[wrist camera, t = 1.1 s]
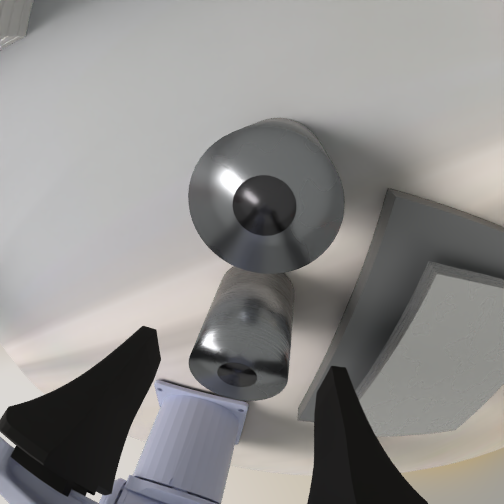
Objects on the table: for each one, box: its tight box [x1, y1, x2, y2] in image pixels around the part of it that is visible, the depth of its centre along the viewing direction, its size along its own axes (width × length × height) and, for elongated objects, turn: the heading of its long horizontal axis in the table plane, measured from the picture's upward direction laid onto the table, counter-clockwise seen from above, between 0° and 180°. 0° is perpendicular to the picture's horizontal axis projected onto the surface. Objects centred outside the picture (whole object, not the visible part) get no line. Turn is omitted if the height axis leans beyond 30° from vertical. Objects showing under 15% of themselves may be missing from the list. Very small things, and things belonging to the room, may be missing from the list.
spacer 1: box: [188, 118, 344, 274], centre depth 9 cm, size 4×4×6 cm
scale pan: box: [355, 261, 504, 437], centre depth 13 cm, size 14×12×2 cm
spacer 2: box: [189, 266, 294, 401], centre depth 13 cm, size 4×4×6 cm
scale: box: [298, 188, 504, 422], centre depth 14 cm, size 18×16×4 cm
